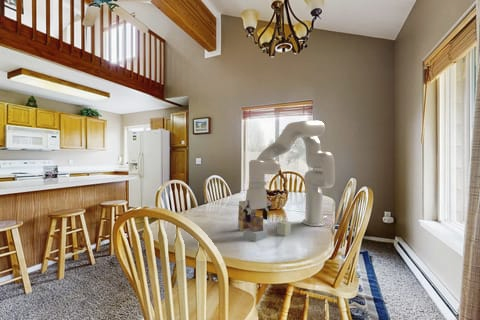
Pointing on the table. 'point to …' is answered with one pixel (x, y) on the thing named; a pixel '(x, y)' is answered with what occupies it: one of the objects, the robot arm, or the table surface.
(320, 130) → the robot arm
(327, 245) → the table surface
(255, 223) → the walnut block
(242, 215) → the candy box
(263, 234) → the pedestal block
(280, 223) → the sage block
